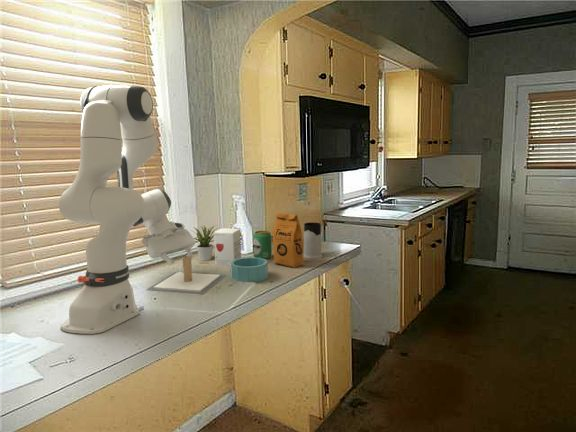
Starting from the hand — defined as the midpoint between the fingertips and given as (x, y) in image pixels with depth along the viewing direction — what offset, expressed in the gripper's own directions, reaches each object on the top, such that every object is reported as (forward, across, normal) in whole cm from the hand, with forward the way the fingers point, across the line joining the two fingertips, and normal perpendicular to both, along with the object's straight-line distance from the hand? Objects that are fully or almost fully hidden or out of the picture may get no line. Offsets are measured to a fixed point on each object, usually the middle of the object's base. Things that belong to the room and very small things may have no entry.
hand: (182, 260), depth 156 cm
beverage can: (+10, +43, +3) cm, 44 cm away
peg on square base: (+8, 0, +4) cm, 8 cm away
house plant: (-5, +29, +17) cm, 34 cm away
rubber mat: (+8, 0, +4) cm, 9 cm away
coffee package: (+21, +40, -9) cm, 47 cm away
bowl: (+18, +18, -6) cm, 26 cm away
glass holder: (+22, +61, -10) cm, 65 cm away
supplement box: (+5, +28, +8) cm, 29 cm away
